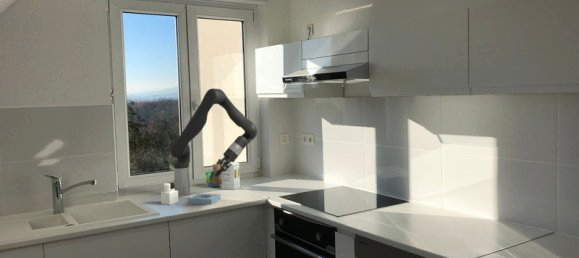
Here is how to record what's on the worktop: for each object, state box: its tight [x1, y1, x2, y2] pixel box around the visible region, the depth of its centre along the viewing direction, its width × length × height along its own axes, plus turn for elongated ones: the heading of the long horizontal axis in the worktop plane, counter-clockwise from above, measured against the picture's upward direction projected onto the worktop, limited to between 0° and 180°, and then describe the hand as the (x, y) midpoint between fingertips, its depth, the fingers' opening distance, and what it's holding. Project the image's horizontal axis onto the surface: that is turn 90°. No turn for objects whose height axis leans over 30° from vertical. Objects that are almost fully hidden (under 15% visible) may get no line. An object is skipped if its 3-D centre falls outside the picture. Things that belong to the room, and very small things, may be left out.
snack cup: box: [205, 170, 221, 188], centre depth 334 cm, size 16×10×10 cm
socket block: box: [188, 193, 222, 205], centre depth 289 cm, size 14×14×3 cm
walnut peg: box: [212, 163, 222, 186], centre depth 276 cm, size 5×5×11 cm
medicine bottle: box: [160, 181, 179, 206], centre depth 286 cm, size 7×7×12 cm
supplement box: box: [221, 162, 241, 191], centre depth 326 cm, size 10×9×17 cm
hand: (214, 175), depth 275 cm, fingers closed on walnut peg, 4 cm apart
